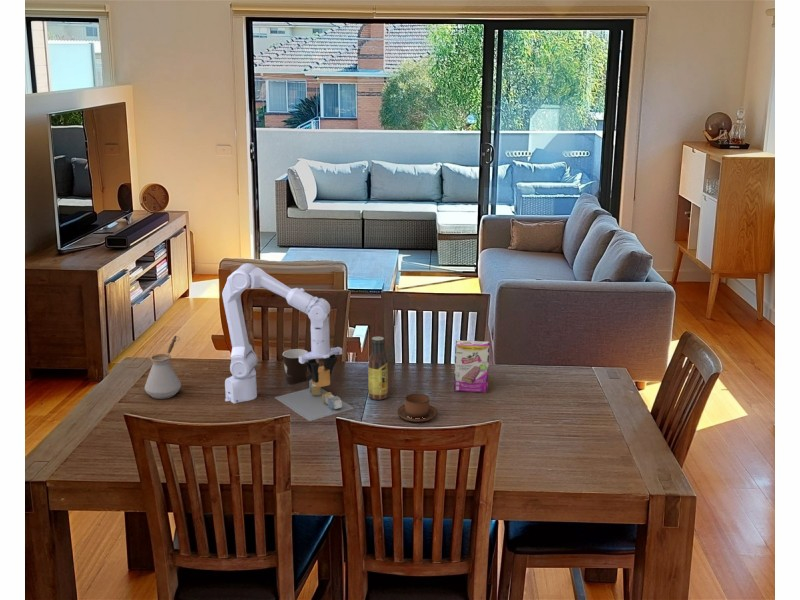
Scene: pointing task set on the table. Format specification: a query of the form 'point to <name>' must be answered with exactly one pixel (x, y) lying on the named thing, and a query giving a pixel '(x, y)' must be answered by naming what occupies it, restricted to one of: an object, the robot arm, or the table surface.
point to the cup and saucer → (417, 408)
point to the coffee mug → (294, 366)
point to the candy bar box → (471, 366)
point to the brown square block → (323, 377)
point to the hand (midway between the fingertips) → (321, 380)
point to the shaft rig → (326, 397)
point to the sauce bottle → (378, 370)
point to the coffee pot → (162, 376)
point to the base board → (310, 404)
